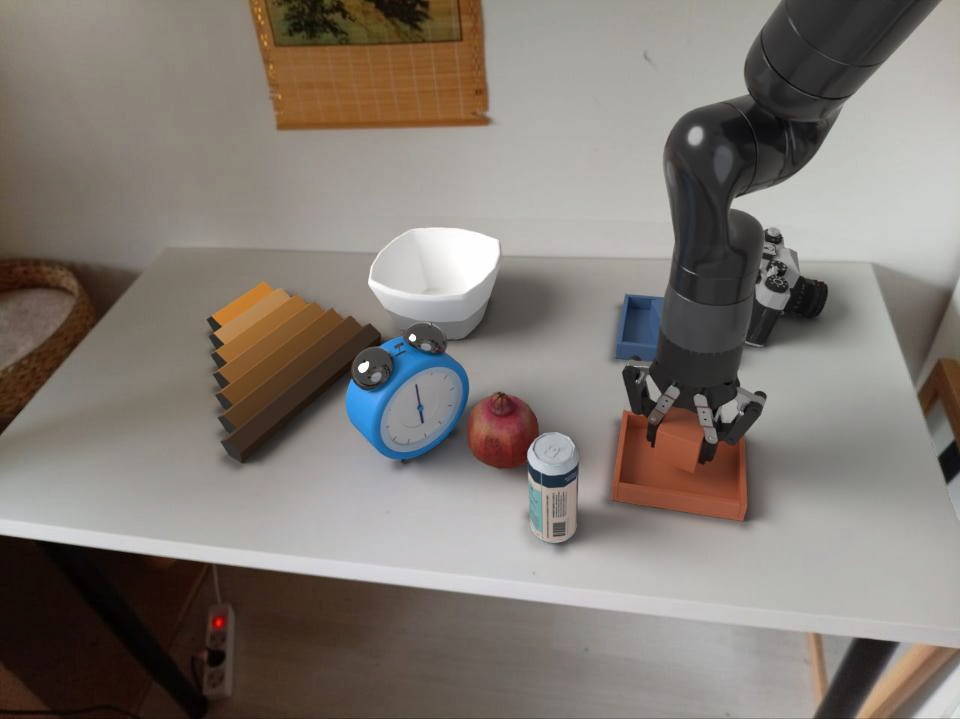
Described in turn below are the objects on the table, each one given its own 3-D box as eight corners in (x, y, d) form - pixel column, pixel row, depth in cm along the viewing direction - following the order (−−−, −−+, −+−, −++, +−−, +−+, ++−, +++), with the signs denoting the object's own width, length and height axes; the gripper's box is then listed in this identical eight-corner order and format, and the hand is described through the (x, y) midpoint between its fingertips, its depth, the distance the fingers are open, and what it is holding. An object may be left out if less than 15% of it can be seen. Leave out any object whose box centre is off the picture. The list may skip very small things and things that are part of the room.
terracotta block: (705, 444, 73) (712, 416, 70) (694, 473, 70) (700, 444, 67) (665, 431, 75) (670, 403, 72) (652, 459, 72) (656, 430, 69)
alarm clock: (384, 482, 76) (358, 383, 66) (355, 451, 80) (328, 354, 70) (475, 424, 82) (464, 326, 72) (445, 398, 86) (431, 301, 76)
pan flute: (245, 465, 79) (383, 346, 94) (236, 445, 77) (379, 326, 92) (121, 391, 91) (262, 295, 106) (110, 372, 89) (256, 277, 104)
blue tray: (720, 316, 94) (723, 302, 92) (721, 370, 86) (724, 355, 84) (623, 307, 97) (625, 293, 95) (615, 358, 89) (616, 343, 87)
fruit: (544, 434, 80) (543, 371, 73) (535, 489, 74) (533, 425, 67) (476, 429, 81) (469, 366, 75) (463, 482, 75) (454, 418, 69)
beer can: (585, 519, 70) (589, 440, 63) (562, 553, 67) (563, 475, 60) (544, 500, 73) (543, 421, 65) (521, 532, 70) (517, 454, 62)
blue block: (680, 322, 93) (684, 296, 90) (690, 342, 90) (695, 315, 87) (648, 326, 93) (651, 299, 90) (657, 346, 89) (661, 319, 87)
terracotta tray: (740, 440, 77) (744, 425, 75) (743, 521, 69) (747, 506, 67) (621, 424, 80) (623, 409, 78) (611, 500, 72) (612, 485, 70)
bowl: (413, 272, 108) (404, 220, 102) (519, 288, 103) (517, 234, 96) (360, 341, 96) (347, 285, 89) (479, 363, 90) (473, 306, 84)
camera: (813, 361, 88) (851, 300, 81) (729, 339, 89) (759, 278, 82) (804, 295, 98) (836, 237, 91) (729, 277, 100) (755, 218, 93)
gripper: (612, 326, 62) (603, 452, 73) (778, 371, 56) (740, 500, 67) (640, 283, 66) (627, 407, 78) (795, 320, 61) (757, 449, 72)
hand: (680, 450), depth 72 cm, fingers closed on terracotta block, 4 cm apart
